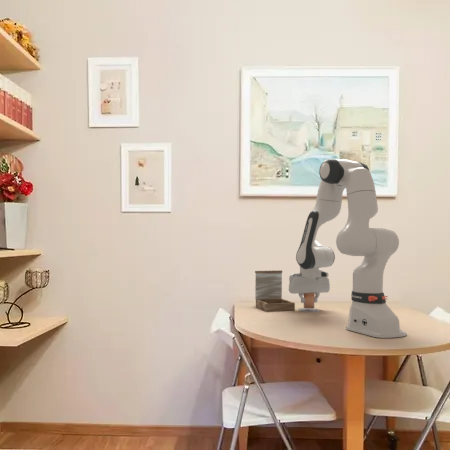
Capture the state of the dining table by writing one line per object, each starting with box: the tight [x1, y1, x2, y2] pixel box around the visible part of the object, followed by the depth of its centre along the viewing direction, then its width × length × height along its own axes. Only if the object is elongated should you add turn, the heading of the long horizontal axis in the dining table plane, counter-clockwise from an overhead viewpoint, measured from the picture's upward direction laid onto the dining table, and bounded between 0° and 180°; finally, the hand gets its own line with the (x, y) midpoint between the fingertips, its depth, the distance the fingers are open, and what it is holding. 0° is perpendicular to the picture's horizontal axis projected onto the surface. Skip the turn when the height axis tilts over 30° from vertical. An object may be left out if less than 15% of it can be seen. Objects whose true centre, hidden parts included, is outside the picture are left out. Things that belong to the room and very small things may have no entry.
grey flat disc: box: [298, 307, 321, 313], centre depth 195 cm, size 10×10×1 cm
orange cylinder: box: [303, 293, 315, 309], centre depth 195 cm, size 5×5×7 cm
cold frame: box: [254, 270, 296, 313], centre depth 199 cm, size 15×14×18 cm
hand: (309, 302), depth 195 cm, fingers closed on orange cylinder, 5 cm apart
